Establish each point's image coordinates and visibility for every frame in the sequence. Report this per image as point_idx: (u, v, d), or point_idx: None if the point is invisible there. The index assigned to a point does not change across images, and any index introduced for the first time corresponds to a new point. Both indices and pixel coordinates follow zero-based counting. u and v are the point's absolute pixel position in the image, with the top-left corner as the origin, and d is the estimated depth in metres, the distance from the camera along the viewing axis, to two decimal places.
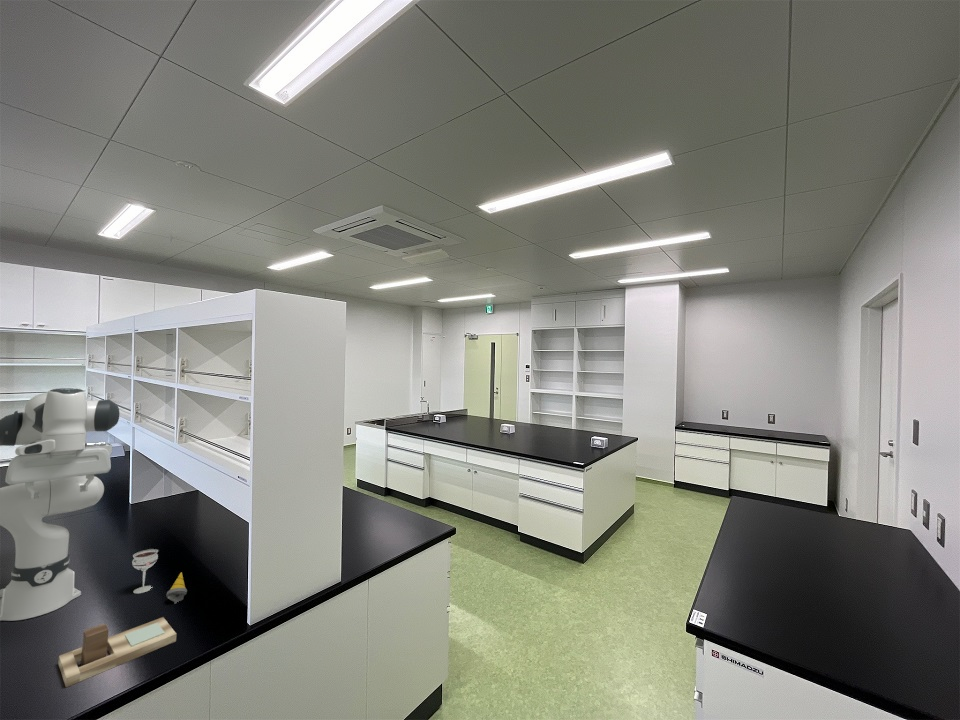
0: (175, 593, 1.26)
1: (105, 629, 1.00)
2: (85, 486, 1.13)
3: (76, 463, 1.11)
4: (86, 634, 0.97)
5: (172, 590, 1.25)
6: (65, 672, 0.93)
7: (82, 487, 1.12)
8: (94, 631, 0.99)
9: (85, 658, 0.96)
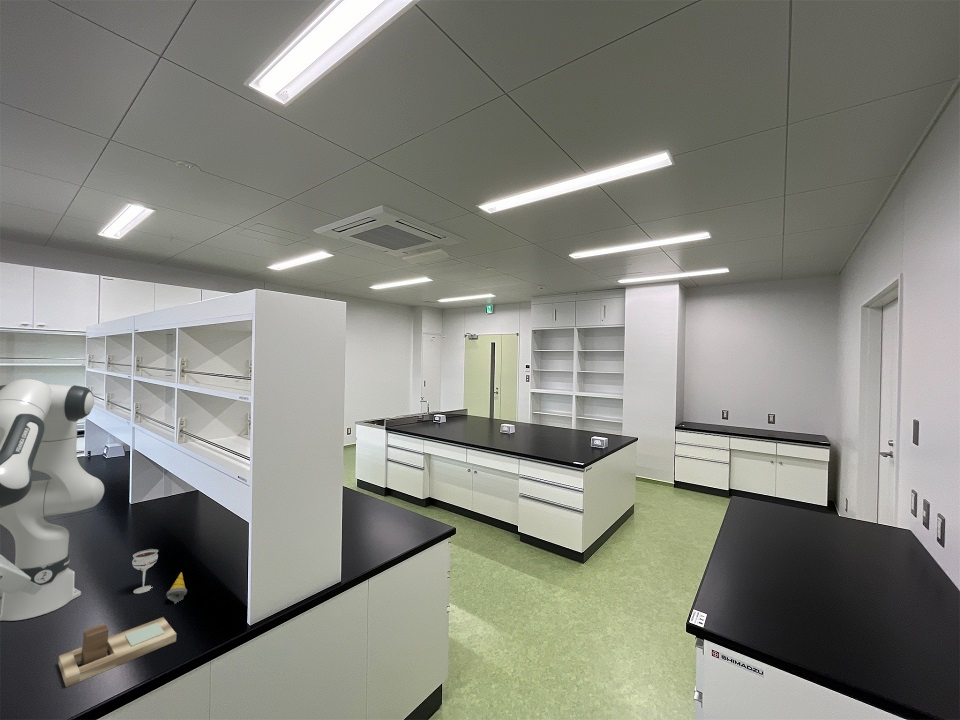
0: (175, 593, 1.26)
1: (105, 629, 1.00)
2: (26, 592, 0.86)
3: None
4: (86, 634, 0.97)
5: (172, 590, 1.25)
6: (65, 672, 0.93)
7: (26, 591, 0.86)
8: (94, 631, 0.99)
9: (85, 658, 0.96)
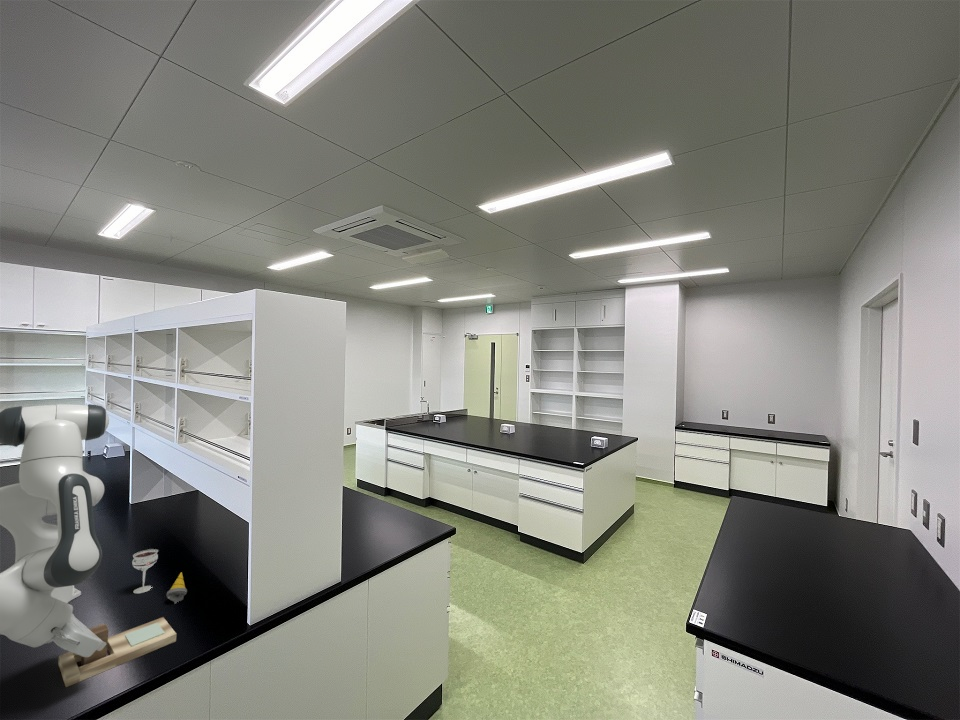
0: (175, 593, 1.26)
1: (105, 629, 1.00)
2: None
3: None
4: None
5: (172, 590, 1.25)
6: (65, 672, 0.93)
7: None
8: (94, 631, 0.99)
9: (85, 658, 0.96)
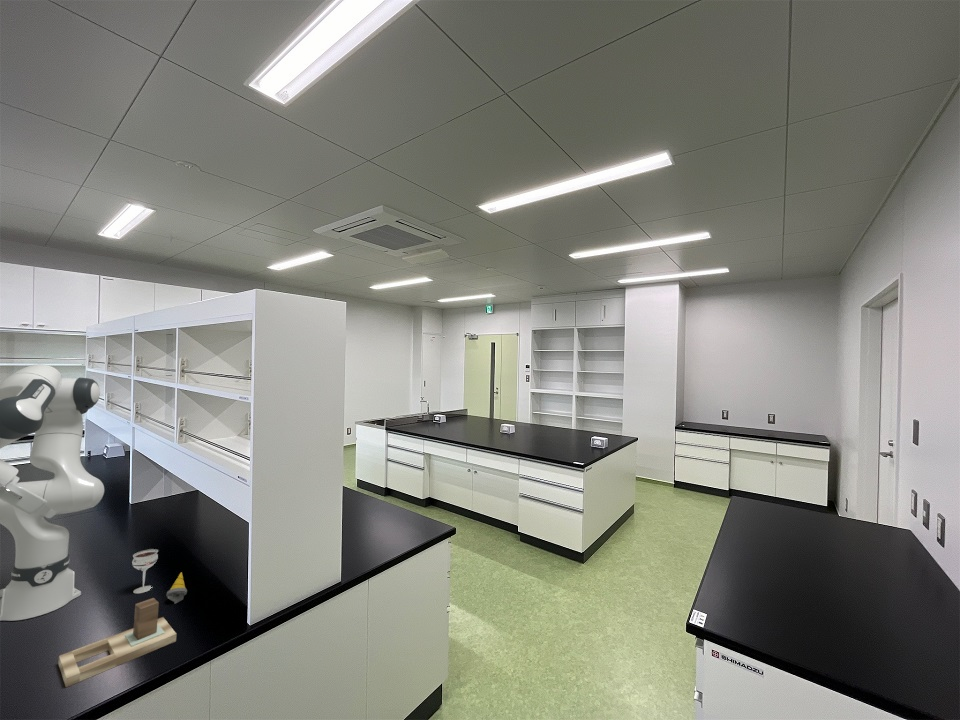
0: (175, 593, 1.26)
1: (155, 602, 1.08)
2: (43, 515, 0.96)
3: None
4: (139, 607, 1.06)
5: (172, 590, 1.25)
6: (65, 672, 0.93)
7: (43, 515, 0.97)
8: (146, 604, 1.07)
9: (139, 628, 1.04)
